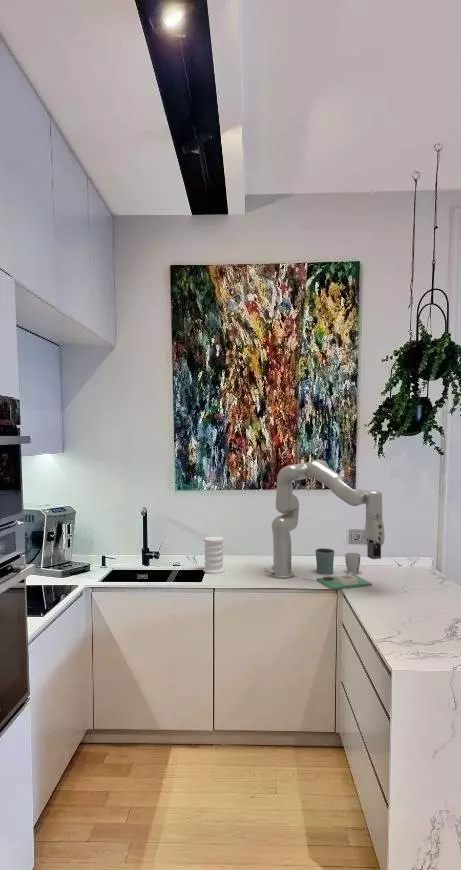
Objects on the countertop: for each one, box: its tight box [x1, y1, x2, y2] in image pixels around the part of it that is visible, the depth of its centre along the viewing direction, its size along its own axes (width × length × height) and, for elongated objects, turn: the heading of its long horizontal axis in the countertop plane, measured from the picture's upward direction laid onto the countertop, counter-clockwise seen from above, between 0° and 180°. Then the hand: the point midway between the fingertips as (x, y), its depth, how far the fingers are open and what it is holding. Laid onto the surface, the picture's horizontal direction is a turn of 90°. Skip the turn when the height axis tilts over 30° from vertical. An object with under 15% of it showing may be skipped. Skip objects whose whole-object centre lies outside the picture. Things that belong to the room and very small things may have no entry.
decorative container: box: [202, 535, 226, 575], centre depth 261 cm, size 12×12×18 cm
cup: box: [344, 552, 361, 575], centre depth 257 cm, size 8×8×10 cm
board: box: [316, 572, 373, 591], centre depth 239 cm, size 22×16×4 cm
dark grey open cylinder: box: [315, 547, 335, 576], centre depth 258 cm, size 10×10×12 cm
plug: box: [366, 541, 382, 560], centre depth 228 cm, size 5×4×7 cm
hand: (374, 554), depth 228 cm, fingers closed on plug, 4 cm apart
